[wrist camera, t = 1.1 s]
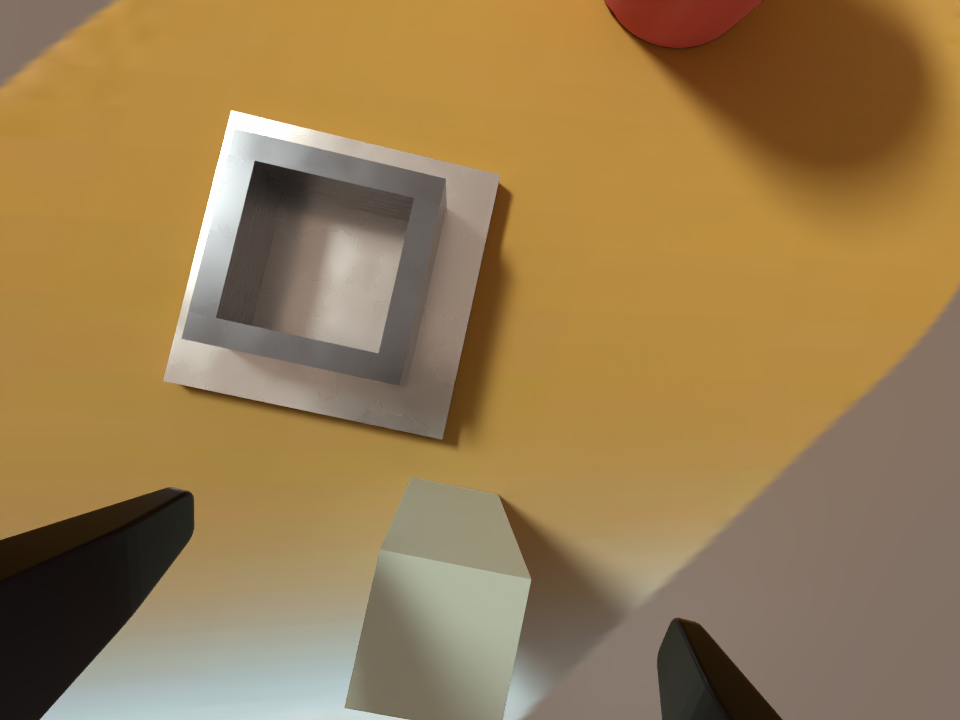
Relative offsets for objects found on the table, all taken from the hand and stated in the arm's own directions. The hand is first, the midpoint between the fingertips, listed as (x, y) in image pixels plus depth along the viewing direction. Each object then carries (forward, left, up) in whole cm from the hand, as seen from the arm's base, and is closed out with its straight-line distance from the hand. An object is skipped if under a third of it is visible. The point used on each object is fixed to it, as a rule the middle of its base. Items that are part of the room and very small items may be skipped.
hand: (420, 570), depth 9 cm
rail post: (-3, -1, -13) cm, 13 cm away
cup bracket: (+7, +6, -13) cm, 16 cm away
